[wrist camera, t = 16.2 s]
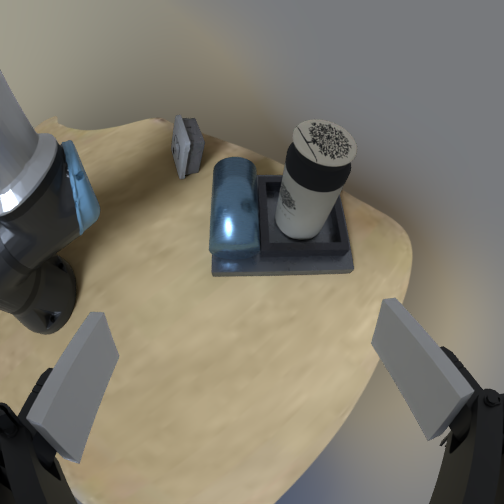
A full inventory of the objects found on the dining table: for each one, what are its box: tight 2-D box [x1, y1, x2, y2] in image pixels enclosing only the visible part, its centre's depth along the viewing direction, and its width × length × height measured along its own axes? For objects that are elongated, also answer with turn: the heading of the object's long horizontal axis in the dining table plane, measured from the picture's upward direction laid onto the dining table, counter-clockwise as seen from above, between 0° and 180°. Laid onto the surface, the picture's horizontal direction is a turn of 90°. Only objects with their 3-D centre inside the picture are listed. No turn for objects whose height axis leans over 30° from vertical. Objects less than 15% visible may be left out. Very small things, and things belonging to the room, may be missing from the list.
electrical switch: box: [171, 115, 205, 179], centre depth 47 cm, size 9×5×9 cm, turn 21°
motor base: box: [209, 157, 354, 277], centre depth 42 cm, size 22×18×9 cm
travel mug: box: [275, 119, 357, 240], centre depth 36 cm, size 8×8×18 cm
